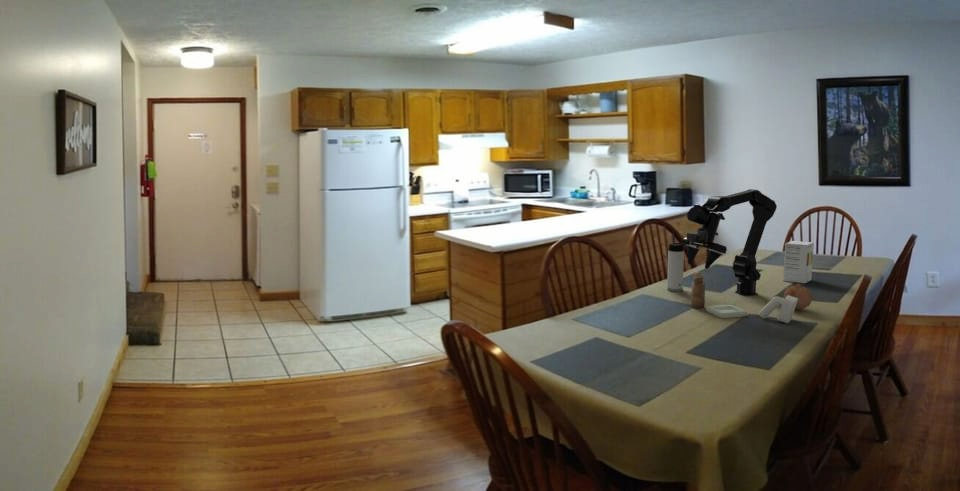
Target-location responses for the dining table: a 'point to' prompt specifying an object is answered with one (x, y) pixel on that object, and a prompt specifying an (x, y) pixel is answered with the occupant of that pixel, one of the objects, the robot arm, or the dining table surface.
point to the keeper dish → (726, 311)
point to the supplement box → (798, 261)
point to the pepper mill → (698, 292)
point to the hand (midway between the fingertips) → (697, 266)
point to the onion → (799, 295)
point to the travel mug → (675, 267)
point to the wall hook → (785, 310)
